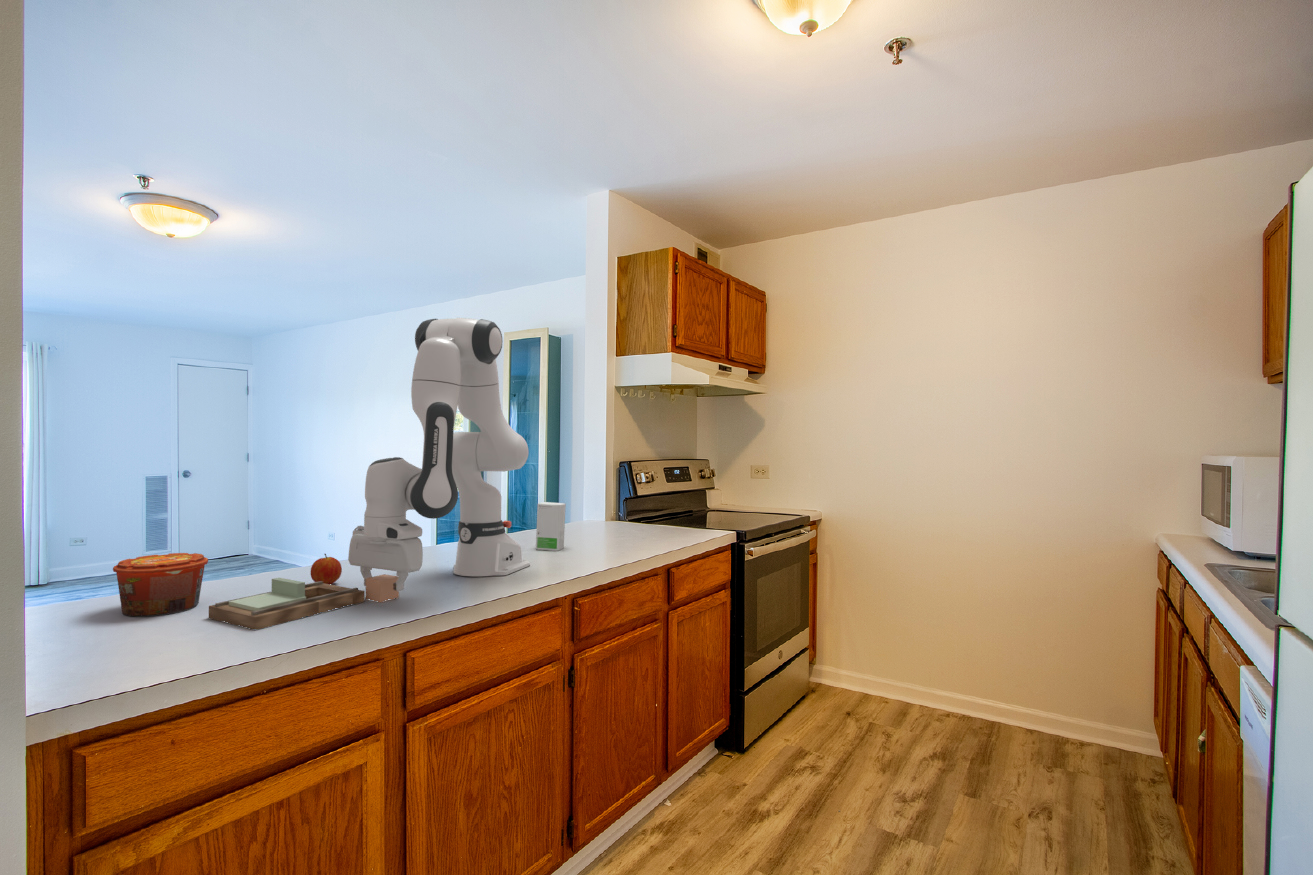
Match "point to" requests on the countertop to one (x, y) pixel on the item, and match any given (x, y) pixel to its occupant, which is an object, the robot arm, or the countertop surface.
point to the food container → (160, 583)
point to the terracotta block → (381, 588)
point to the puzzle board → (289, 606)
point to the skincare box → (550, 526)
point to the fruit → (326, 570)
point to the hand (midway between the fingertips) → (383, 588)
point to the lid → (274, 595)
